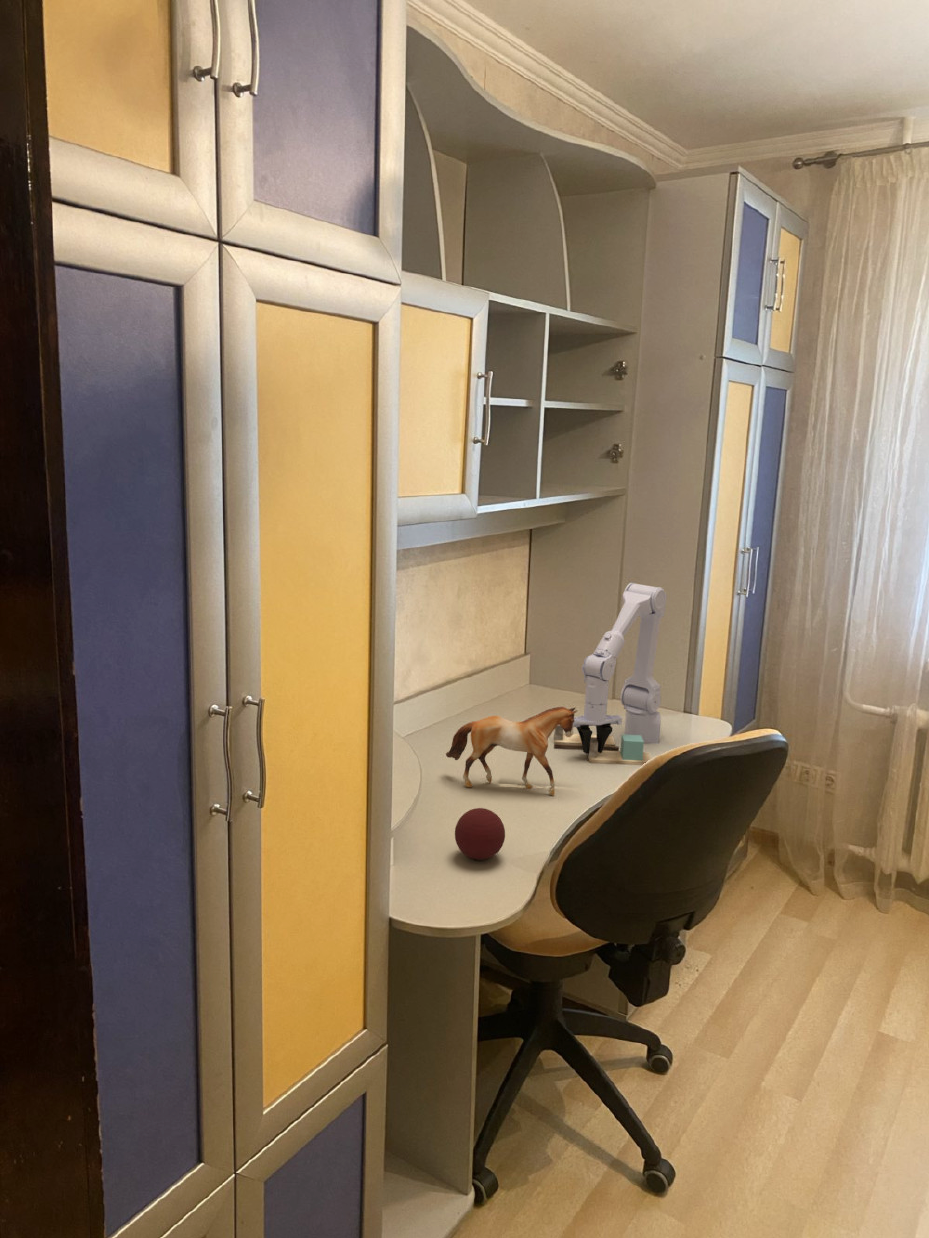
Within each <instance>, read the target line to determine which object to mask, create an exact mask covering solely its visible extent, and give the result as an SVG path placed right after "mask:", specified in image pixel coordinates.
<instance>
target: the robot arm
mask: <svg viewBox="0 0 929 1238" xmlns="http://www.w3.org/2000/svg"><path fill="white" fill-rule="evenodd" d="M667 597H668V595H667V594H666V591H665V590H664V588H663V587H660V586H659V587H657V586H652V585H645V584H641V583H640V584H638V583H636V582H630V583H628V584H627V586H626V587H625V589H624V591H623V593H622V607H621V609H620V611H619V614H618V616H617V618H616V620H615V622H614V624H613V627H612V628H611V630H609V631H606V632H604V634H603V636H602V638H601V639H600V641H599V642H598V644H597V646H596V648H595V649H594V651H593V653H592V654H590V655H588V656H586V658H585V659H584V661H583V664H582V667H581V671H582V674H583V682H584V683H585V691H584V692H585V693H584V709H583V715H581V716H576V717H574V723H573V729H574V728H576V729H577V733H578V734H579V735H580V738H581V741H582V746H583V750H582V752H583V753H584V754H585V755H587V754H589V750H590V739H591V735H593V730H591V727H593V726H595V729H596V735H597V741H598V752H599V753H602V750H603V747H604V745H605V742H606V740H607V738H608V736H611V734H612V733H613V726H611V725H618V726H620V725H621V726H622V722H623V717H622V716H621V715H620V714H619V715H617V714H616V715H612V714H610V715H609V714H607V711H608V696H609V684H610V683H609V682H610V680H611V678H612V677H613V676H614V673H615V669H616V665H617V659H618V657H619V655H620V653H621V651H623V650H622V649H623V648H624V646H625V644H626V641H625V635H626V634H627V633H628V632H629V630H630V629H631V627H632V625H633V624H634V623H635V621H636V620H637V619H638V617H640V624H639V631H638V638H637V645H636V652H635V658H634V659H635V661H634V667H633V674H632V675H631V676H629V677H628V678H626V679H624V682H623V686H622V689H621V690H620V691H621V692H620V695H619V696H620V697H619V699H620V703H621V705H622V706H623V710H625V721H624V731H623V732H624V733H623V735H641V736H642V739H643V741H644V744H660V737H661V735H660V734H661V728H662V727H661V724H662V722H661V720H662V719H661V717H662V716H661V713H660V711H658V710H659V708H660V706H661V700H662V698H661V697H662V696H661V684H660V683H659V682H657V680H656V679H655V678H654V677H653V675H654V667H655V661H656V655H657V654H656V653H657V648H658V647H657V646H658V639H659V634H660V633H659V632H660V627H661V619H662V618H663V617H665V612H666V605H667V600H668V599H667Z"/></svg>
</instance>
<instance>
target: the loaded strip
mask: <svg viewBox="0 0 929 1238" xmlns="http://www.w3.org/2000/svg"><path fill="white" fill-rule="evenodd" d="M586 755H587V757H588V758H587V759H588V762H589V763H594V764H595V763H597V764H614V765H615V764H616V765H618V764H619V765H635V766H637V765H638V766H640V765H641V766H644V765H643V764H644V763H646V762H647V761H648V760H650V759H652V758H651V755H650V752H644V751H643V760H623V759H622V756H621V753H620V750H619V751H602V753H599V752H598V741H597V738H595V737H591V739H590V750H589V754H586Z"/></svg>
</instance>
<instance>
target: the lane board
mask: <svg viewBox="0 0 929 1238" xmlns="http://www.w3.org/2000/svg"><path fill="white" fill-rule="evenodd" d="M553 749H555V750H572V751H573V750H574V751H575V750H576V751H583V746H582V745H581V744H559V743H555V742H554V743H553ZM602 751H620V747H619V746H618V745H615V746H604V747H603V750H602Z"/></svg>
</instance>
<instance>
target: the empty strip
mask: <svg viewBox="0 0 929 1238" xmlns="http://www.w3.org/2000/svg"><path fill="white" fill-rule="evenodd" d="M553 732H554V733H553V739H554V743H559V744H581V745H582V741H581V738H580V735H579V733H574V734H573V735H572V736H571V737H567V736H566V735H565V733H564V730H563V728H562V727H561V726H560V725H557V726H556V728H555V729H554V730H553ZM591 737H595V738H597V734H592V735H591ZM604 746H616V742H615V739H614V736H613V735H609V736H608V738H607V740H606V742H605V745H604Z"/></svg>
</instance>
